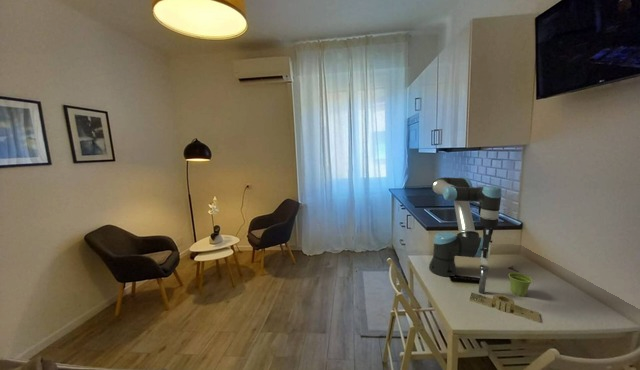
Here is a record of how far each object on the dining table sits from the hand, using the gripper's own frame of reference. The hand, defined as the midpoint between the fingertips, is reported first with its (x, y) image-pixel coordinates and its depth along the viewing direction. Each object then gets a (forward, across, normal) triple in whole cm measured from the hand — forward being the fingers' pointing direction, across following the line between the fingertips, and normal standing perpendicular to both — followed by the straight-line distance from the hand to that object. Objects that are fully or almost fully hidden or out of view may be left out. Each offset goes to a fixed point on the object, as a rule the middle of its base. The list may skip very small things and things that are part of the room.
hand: (485, 258), depth 126 cm
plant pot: (+18, +11, -15) cm, 26 cm away
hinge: (+18, -8, -9) cm, 22 cm away
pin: (+18, 0, 0) cm, 18 cm away
